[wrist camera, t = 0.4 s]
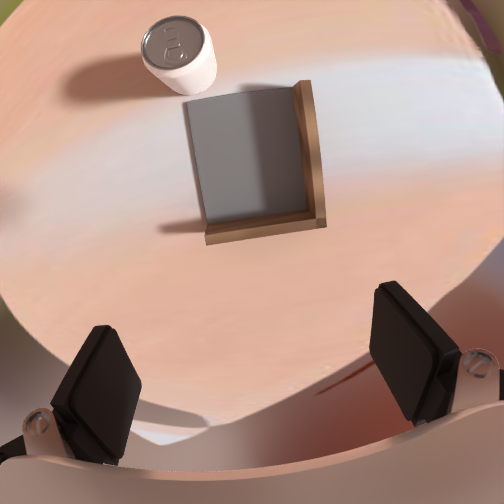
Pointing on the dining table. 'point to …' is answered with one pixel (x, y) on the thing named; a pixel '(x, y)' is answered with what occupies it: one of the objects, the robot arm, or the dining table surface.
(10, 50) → the dining table surface
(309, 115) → the corner walls
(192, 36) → the can
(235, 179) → the mat
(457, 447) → the robot arm
